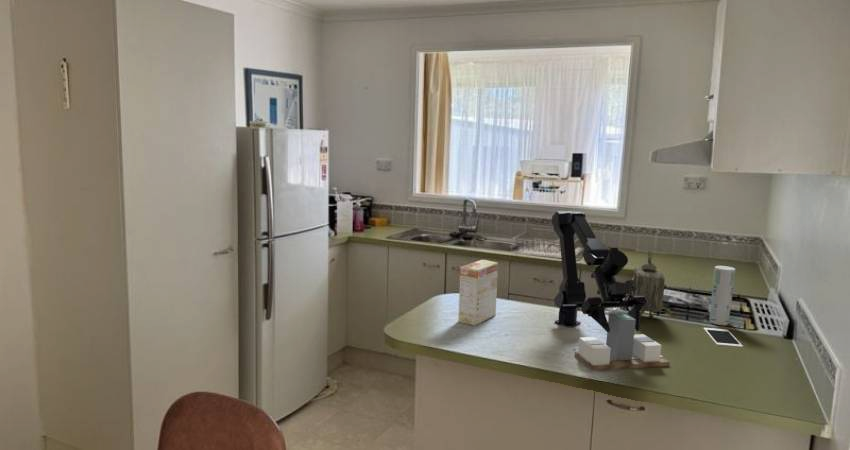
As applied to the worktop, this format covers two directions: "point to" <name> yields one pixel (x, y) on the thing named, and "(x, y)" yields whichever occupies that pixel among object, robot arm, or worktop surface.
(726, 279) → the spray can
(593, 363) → the mounted modules
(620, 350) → the block
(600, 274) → the robot arm
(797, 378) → the worktop surface
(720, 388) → the worktop surface
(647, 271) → the mop head
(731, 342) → the cell phone
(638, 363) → the rail board
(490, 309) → the coffeecake box
